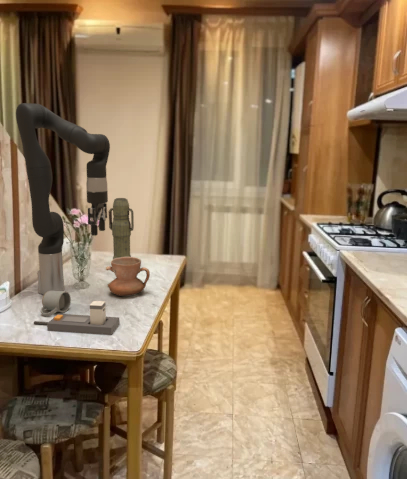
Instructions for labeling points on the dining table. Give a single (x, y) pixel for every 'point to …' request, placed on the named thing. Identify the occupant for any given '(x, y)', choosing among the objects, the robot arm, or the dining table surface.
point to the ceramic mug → (55, 302)
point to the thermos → (121, 227)
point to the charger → (98, 313)
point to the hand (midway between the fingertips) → (98, 232)
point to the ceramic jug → (127, 276)
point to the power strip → (80, 324)
